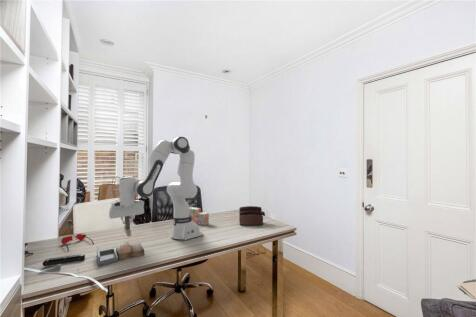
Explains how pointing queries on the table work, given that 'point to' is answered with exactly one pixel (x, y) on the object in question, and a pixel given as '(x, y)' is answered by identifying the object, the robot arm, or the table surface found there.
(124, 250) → the tile
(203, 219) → the stack of blocks
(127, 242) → the tile
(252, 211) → the brown lidded box
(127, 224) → the grey block with handle
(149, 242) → the table surface
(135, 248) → the brown square slab
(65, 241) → the glasses
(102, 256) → the box
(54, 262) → the portable electronic device stand
